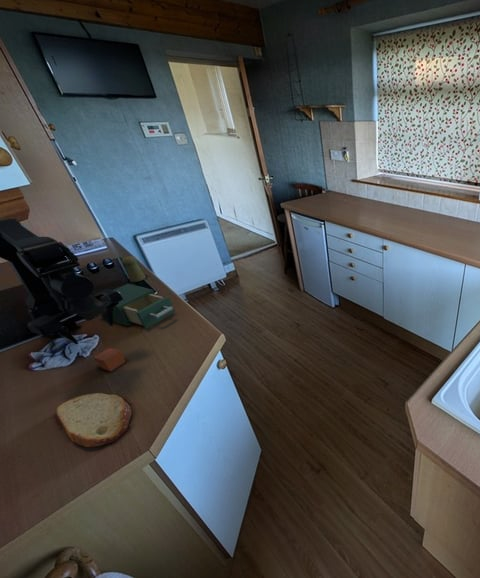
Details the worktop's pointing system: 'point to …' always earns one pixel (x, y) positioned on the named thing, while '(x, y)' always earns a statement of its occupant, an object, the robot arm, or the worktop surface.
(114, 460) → the worktop surface
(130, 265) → the cork
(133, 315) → the drawer
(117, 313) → the cabinet
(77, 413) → the bread slice
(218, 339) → the worktop surface
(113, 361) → the block
